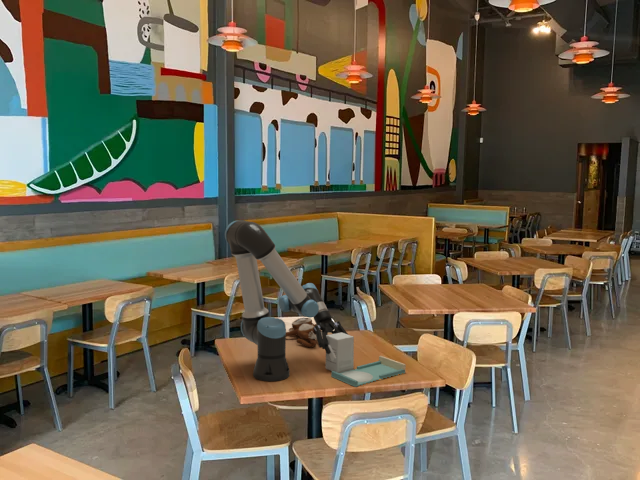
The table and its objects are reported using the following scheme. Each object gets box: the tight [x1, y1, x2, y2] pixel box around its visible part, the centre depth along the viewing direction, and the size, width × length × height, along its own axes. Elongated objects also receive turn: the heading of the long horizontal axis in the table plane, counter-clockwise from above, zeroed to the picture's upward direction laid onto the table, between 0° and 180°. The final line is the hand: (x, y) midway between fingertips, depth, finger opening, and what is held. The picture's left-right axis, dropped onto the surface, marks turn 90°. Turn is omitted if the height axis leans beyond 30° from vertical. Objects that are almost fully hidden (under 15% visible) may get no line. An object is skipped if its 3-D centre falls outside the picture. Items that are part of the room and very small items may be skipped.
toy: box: [286, 317, 329, 348], centre depth 290 cm, size 22×10×30 cm
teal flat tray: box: [330, 355, 407, 388], centre depth 240 cm, size 28×15×4 cm, turn 128°
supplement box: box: [325, 332, 355, 373], centre depth 246 cm, size 9×9×15 cm
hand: (343, 357), depth 244 cm, fingers closed on supplement box, 9 cm apart
